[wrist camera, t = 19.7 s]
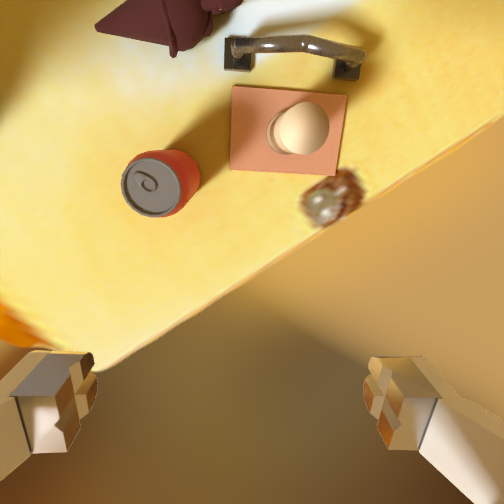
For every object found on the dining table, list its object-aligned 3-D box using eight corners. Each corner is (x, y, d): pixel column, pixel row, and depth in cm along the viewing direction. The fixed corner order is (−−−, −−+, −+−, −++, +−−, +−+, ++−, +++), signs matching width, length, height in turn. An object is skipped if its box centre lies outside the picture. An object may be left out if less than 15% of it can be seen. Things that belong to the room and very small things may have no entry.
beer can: (172, 137, 37) (144, 134, 26) (211, 175, 39) (201, 188, 27) (140, 175, 38) (100, 188, 27) (179, 210, 40) (156, 236, 29)
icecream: (103, 72, 29) (251, 41, 30) (63, -30, 24) (237, -62, 25) (117, 69, 34) (241, 44, 35) (86, -14, 30) (228, -41, 31)
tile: (229, 169, 39) (229, 169, 38) (232, 87, 35) (232, 86, 35) (333, 175, 39) (334, 175, 39) (345, 95, 36) (347, 95, 36)
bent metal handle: (224, 70, 35) (221, 52, 28) (225, 40, 34) (222, 13, 27) (355, 80, 36) (383, 65, 29) (360, 52, 35) (390, 29, 28)
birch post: (264, 153, 37) (275, 156, 27) (267, 110, 36) (280, 96, 25) (303, 155, 38) (328, 159, 28) (308, 112, 36) (336, 100, 26)
